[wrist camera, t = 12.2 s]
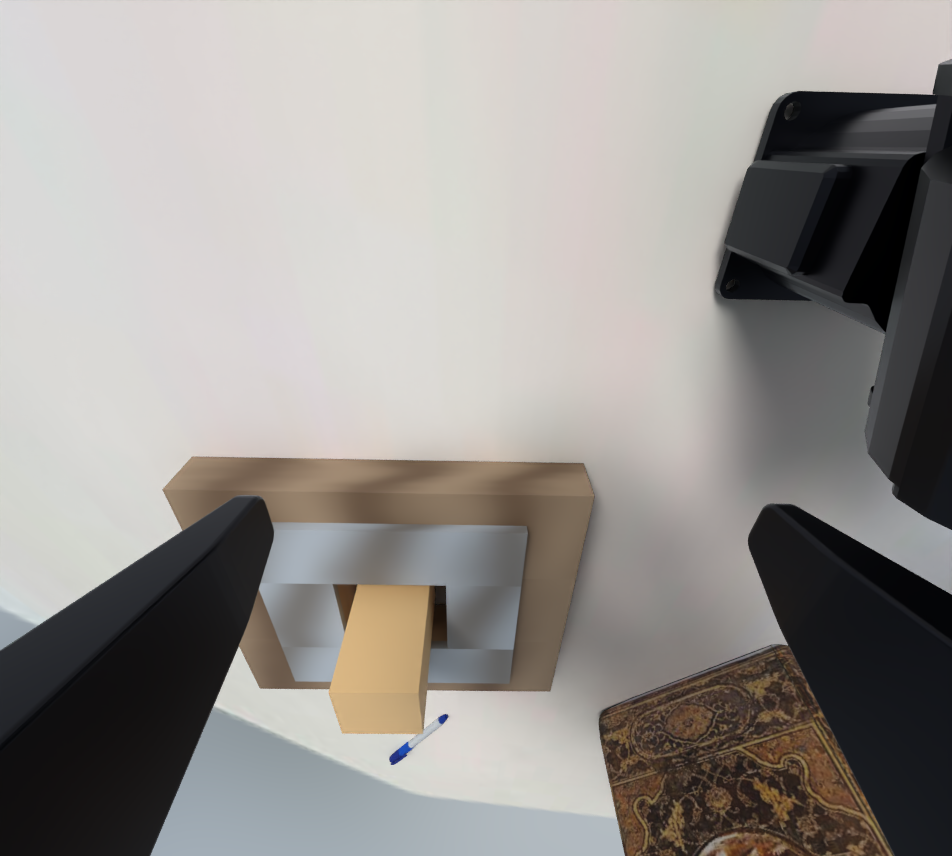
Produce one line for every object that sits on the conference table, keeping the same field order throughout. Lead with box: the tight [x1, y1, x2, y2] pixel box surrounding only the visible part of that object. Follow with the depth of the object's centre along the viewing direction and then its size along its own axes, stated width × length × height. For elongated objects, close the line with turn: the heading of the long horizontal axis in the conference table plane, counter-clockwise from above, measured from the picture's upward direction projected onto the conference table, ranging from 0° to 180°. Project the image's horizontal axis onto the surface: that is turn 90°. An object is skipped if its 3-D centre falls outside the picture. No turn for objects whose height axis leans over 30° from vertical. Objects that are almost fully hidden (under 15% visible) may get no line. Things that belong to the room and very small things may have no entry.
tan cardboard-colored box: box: [329, 584, 435, 734], centre depth 24 cm, size 4×4×8 cm
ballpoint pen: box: [389, 714, 448, 765], centre depth 39 cm, size 10×1×1 cm, turn 149°
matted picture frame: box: [162, 457, 595, 691], centre depth 26 cm, size 20×18×3 cm
